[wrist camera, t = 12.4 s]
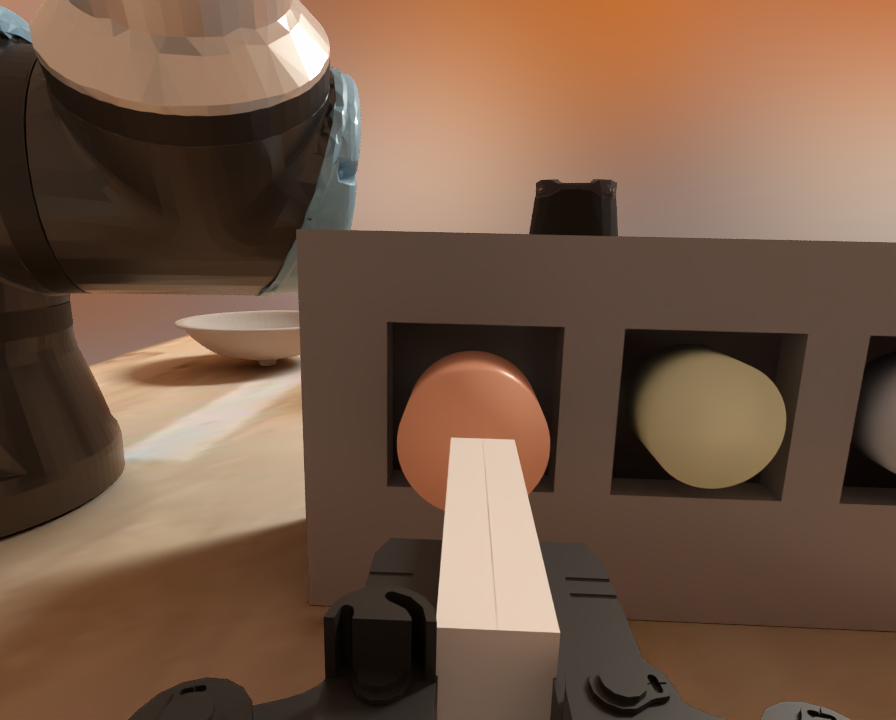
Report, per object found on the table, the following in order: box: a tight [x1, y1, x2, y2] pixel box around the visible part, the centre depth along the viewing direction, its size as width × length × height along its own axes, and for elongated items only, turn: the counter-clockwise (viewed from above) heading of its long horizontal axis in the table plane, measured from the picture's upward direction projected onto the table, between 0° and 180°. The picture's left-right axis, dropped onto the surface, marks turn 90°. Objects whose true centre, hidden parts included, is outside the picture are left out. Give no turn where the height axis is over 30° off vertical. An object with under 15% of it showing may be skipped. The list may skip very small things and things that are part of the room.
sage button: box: [624, 344, 786, 489], centre depth 21 cm, size 4×6×4 cm
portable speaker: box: [529, 179, 618, 236], centre depth 57 cm, size 9×9×20 cm
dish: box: [175, 311, 300, 366], centre depth 60 cm, size 18×14×5 cm
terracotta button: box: [397, 351, 550, 511], centre depth 19 cm, size 4×6×4 cm
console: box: [296, 229, 896, 631], centre depth 23 cm, size 28×8×14 cm, turn 88°
